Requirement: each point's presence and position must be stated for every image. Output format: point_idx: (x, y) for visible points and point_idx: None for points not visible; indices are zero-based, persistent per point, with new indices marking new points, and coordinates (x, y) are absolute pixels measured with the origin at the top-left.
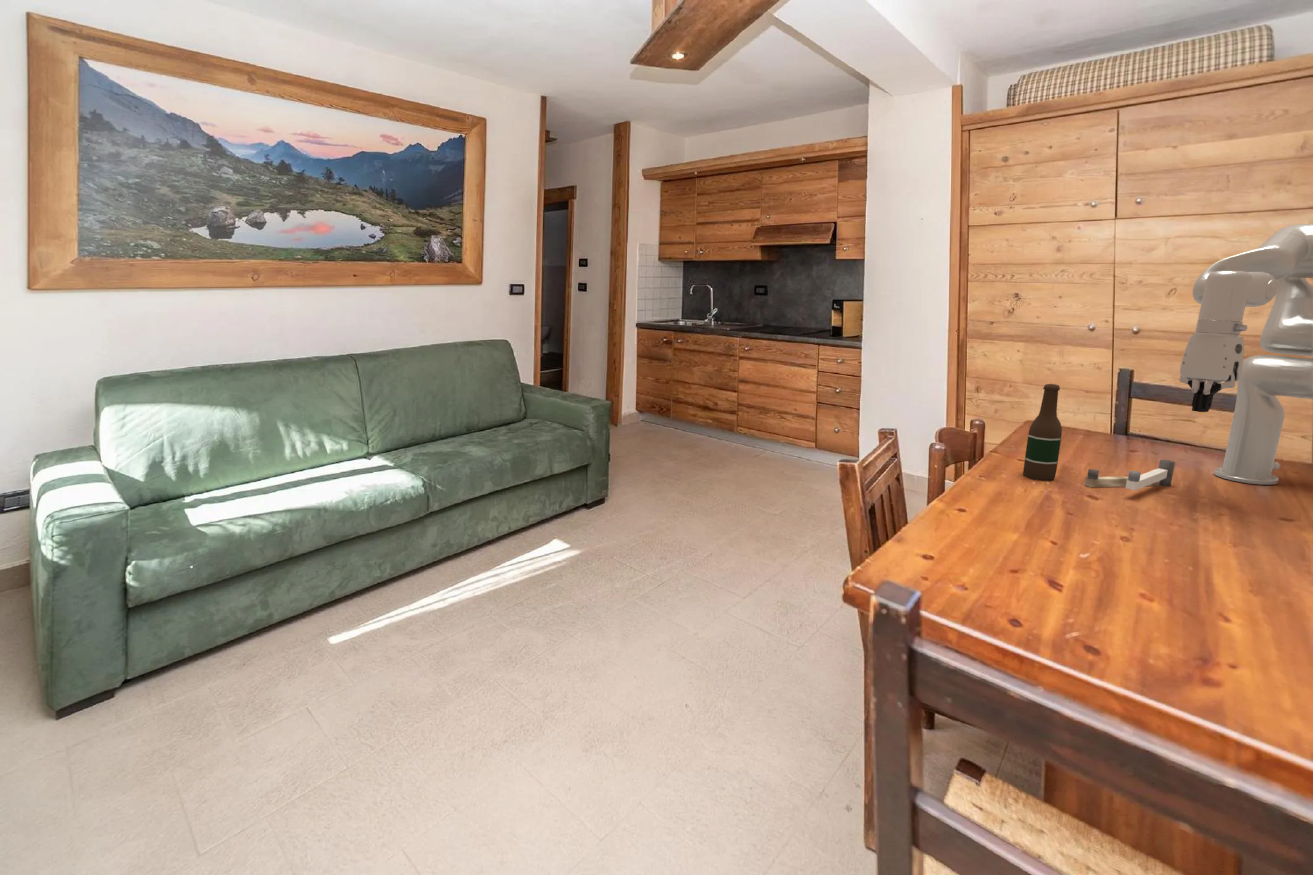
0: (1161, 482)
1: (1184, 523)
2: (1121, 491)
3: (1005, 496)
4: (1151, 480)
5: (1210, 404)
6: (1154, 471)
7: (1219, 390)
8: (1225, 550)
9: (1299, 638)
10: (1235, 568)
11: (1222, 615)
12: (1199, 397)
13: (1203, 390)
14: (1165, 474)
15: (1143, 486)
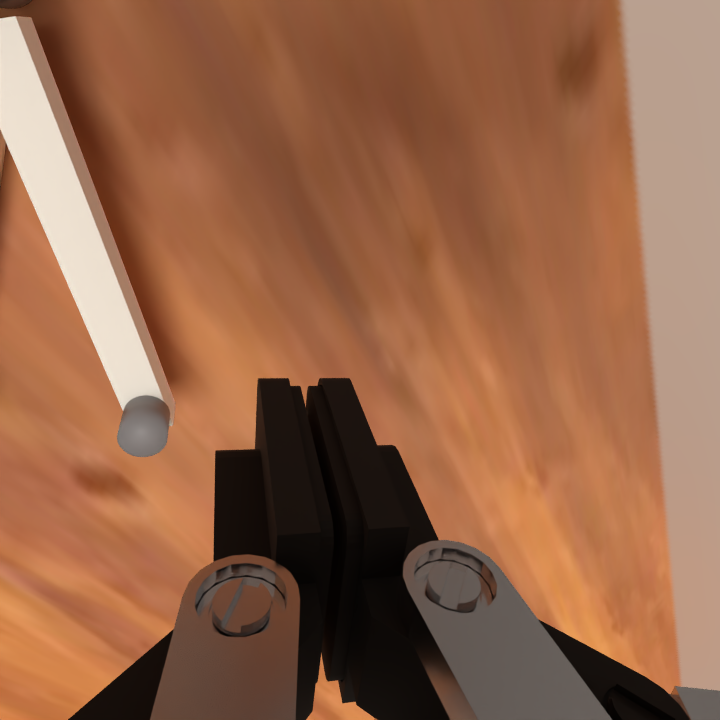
0: (11, 7)
1: (404, 442)
2: (63, 320)
3: (24, 687)
4: (114, 255)
5: (401, 478)
6: (28, 148)
7: (570, 648)
8: (538, 519)
9: (677, 678)
10: (577, 577)
11: None
12: (325, 648)
13: (311, 663)
14: (33, 45)
15: (148, 331)
